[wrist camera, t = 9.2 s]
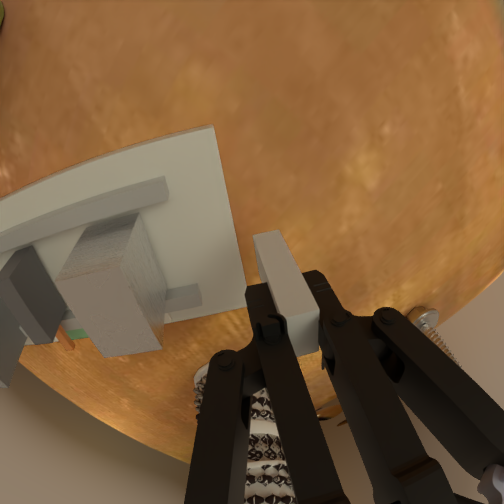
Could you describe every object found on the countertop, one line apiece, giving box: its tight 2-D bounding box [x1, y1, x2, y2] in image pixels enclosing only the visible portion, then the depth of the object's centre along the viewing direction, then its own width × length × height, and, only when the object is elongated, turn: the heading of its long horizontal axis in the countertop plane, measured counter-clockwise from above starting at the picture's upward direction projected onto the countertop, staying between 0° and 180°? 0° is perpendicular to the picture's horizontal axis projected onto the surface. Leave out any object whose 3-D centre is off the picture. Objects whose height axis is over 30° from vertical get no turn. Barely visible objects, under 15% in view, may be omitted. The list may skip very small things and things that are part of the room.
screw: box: [407, 307, 464, 371], centre depth 26 cm, size 13×5×5 cm
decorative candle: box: [193, 362, 297, 504], centre depth 21 cm, size 9×9×25 cm
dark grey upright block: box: [0, 245, 75, 351], centre depth 18 cm, size 9×2×4 cm, turn 9°
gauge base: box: [0, 124, 247, 388], centre depth 17 cm, size 14×24×8 cm, turn 99°
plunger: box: [54, 212, 167, 358], centre depth 17 cm, size 6×4×6 cm, turn 9°
